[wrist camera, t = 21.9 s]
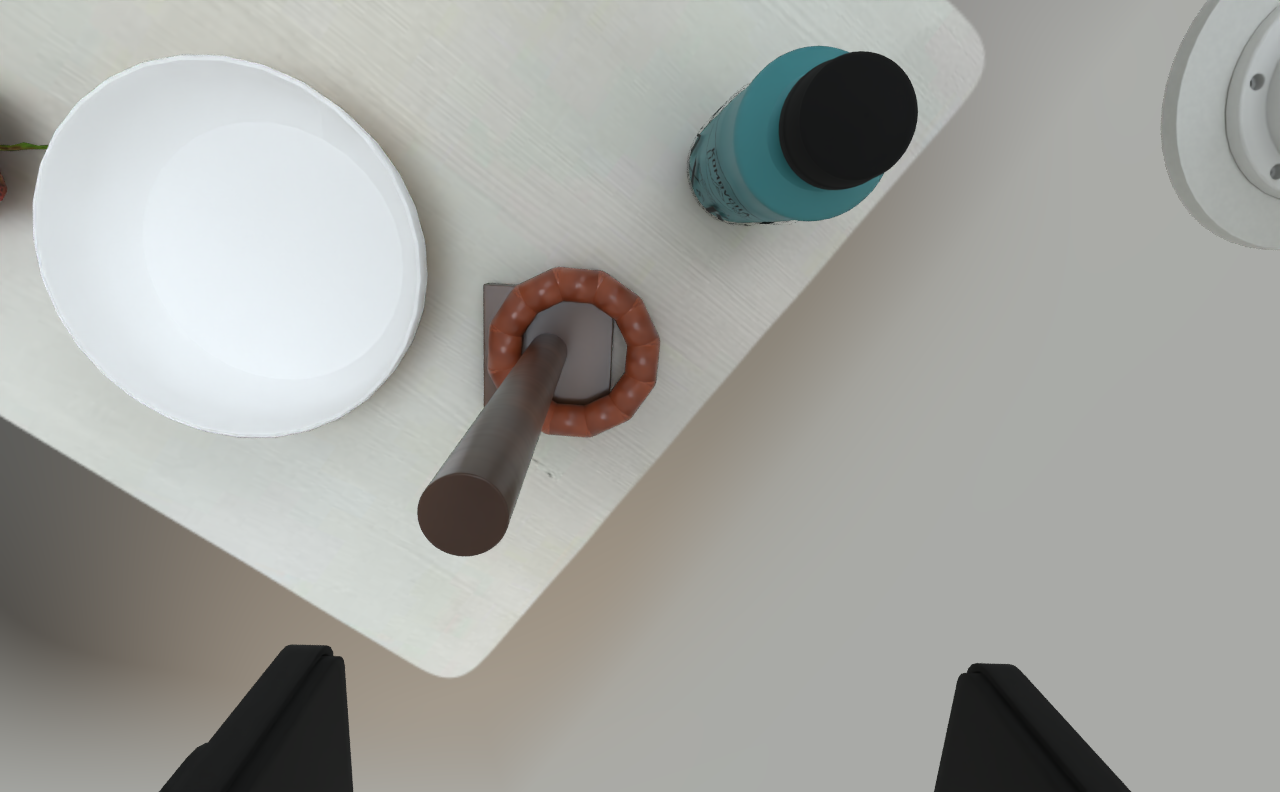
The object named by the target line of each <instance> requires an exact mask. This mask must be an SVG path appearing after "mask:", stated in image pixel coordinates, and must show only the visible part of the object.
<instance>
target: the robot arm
mask: <svg viewBox="0 0 1280 792" xmlns="http://www.w3.org/2000/svg"><path fill="white" fill-rule="evenodd" d="M1226 133H1227V137H1228V141H1229V145H1230V149H1231V153H1232V155H1233V157H1234V159H1235V161H1236V163H1237V165H1238V167H1239V169H1240V170H1241V171H1242V172H1243V174H1244V175H1245V176H1246V177H1247V179H1248V180H1249V181H1250V182H1251V183H1252V184H1254V185H1255V186H1256V187H1258V188H1259V189H1260V190H1261V191H1263V192H1264V193H1267V194H1269V195H1271V196H1274V197H1276V198H1278V199H1280V5H1279V6H1278V7H1276V8H1275V9H1274V10H1273V11H1272V12H1271V14H1270V15H1269V16H1268V17H1267V18H1266V19H1265V20H1264V21H1263V22H1262V23H1261V25H1260V26H1259V27H1258V28H1257V30H1256V31H1255V33H1254V34H1253V36H1252V37H1251V39H1250V40H1249V42H1248V43H1247V45H1246V46H1245V48H1244V50H1243V52H1242V54H1241V56H1240V59H1239V61H1238V63H1237V65H1236V67H1235V70H1234V73H1233V76H1232V80H1231V83H1230V86H1229V90H1228V97H1227V104H1226ZM346 694H347V693H346V678H345V665H344V660H343V658H342V657H340V656H333V651H332V649H331V647H329V646H324V645H288V646H286V647H285V648H284V649H283V650H282V651H281V652H280V653H279V654H278V656H277V657H276V658H275V659H274V661H273V662H272V663H271V664H270V666H269V667H268V668H267V669H266V671H265V672H264V673H263V674H262V676H261V677H260V678H259V679H258V681H257V682H256V683H255V684H254V686H253V687H252V688H251V689H250V691H249V692H248V693H247V694H246V696H245V697H244V698H243V699H242V701H241V702H240V703H239V705H238V706H237V707H236V708H235V709H234V711H233V712H232V713H231V714H230V716H229V717H228V718H227V719H226V721H225V722H224V723H223V724H222V726H221V727H220V728H219V729H218V731H217V732H216V733H215V734H214V736H213V737H212V738H211V739H210V741H209V742H208V743H205V744H203V745H201V746H199V747H197V748H196V749H195V750H194V751H193V752H192V753H191V754H190V755H189V756H188V757H187V758H186V759H185V761H184V762H183V763H182V764H181V766H180V767H179V768H178V769H177V770H176V772H175V773H174V774H173V775H172V777H171V778H170V779H169V780H168V781H167V783H166V784H165V785H164V786H163V788H162V789H161V790H160V791H159V792H353V781H352V766H351V752H350V737H349V722H348V708H347V695H346ZM934 792H1131V791H1130V790H1129V789H1128V788H1127V787H1126V786H1125V785H1124V783H1122V781H1121V780H1120V779H1119V778H1118V777H1117V776H1116V775H1115V774H1114V772H1113V771H1112V770H1111V769H1110V768H1109V767H1108V766H1107V765H1106V764H1105V763H1104V761H1103V760H1102V759H1101V758H1100V757H1099V756H1098V755H1097V754H1096V753H1095V752H1094V751H1093V750H1092V748H1091V747H1090V746H1089V745H1088V744H1087V743H1086V742H1085V741H1084V740H1083V739H1082V737H1081V736H1080V735H1079V734H1078V733H1077V732H1076V731H1075V730H1074V729H1073V728H1072V726H1071V725H1070V724H1069V723H1068V722H1067V721H1066V720H1065V719H1064V718H1063V717H1062V715H1061V714H1060V713H1059V712H1058V711H1057V710H1056V709H1055V708H1054V707H1053V706H1052V705H1051V704H1050V702H1048V700H1047V699H1046V698H1045V697H1044V696H1043V695H1042V694H1041V693H1040V691H1039V690H1038V689H1037V688H1036V687H1035V686H1034V685H1033V684H1032V683H1031V682H1030V680H1028V678H1027V677H1026V676H1025V675H1024V674H1023V673H1022V672H1021V671H1020V670H1019V669H1018V668H1017V667H1016V666H1014V665H1010V664H982V663H976V664H972V665H971V666H970V667H969V668H968V671H967V673H963V674H961V675H960V676H959V678H958V681H957V685H956V690H955V695H954V699H953V704H952V709H951V714H950V718H949V724H948V728H947V733H946V738H945V742H944V747H943V752H942V757H941V761H940V766H939V771H938V775H937V781H936V785H935V790H934Z"/></svg>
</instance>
